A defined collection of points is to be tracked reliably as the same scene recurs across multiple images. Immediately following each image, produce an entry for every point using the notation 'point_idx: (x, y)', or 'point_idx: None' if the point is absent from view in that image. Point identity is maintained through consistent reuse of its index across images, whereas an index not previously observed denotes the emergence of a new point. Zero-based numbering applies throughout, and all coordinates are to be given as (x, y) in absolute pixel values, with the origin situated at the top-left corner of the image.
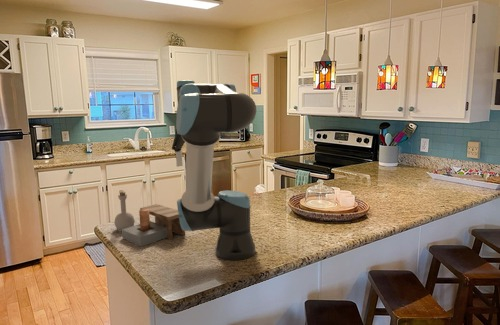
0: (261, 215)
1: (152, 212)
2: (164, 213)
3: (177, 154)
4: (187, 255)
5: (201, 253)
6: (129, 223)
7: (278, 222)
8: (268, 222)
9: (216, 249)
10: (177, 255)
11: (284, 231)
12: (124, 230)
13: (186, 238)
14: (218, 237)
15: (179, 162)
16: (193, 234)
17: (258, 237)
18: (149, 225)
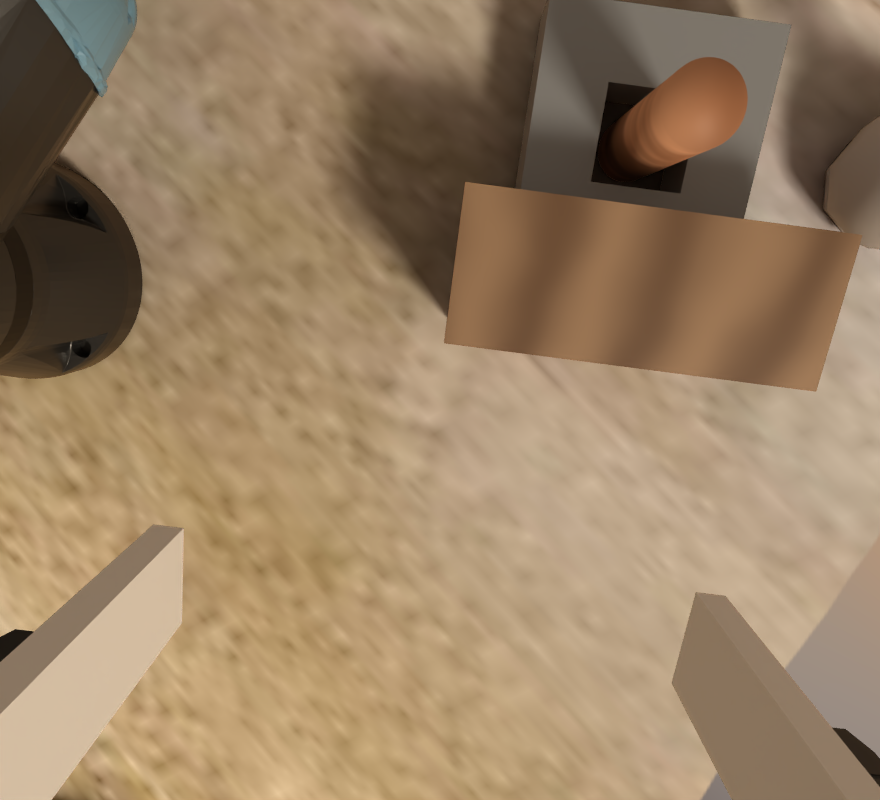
0: (293, 765)
1: (682, 211)
2: (565, 235)
3: (831, 795)
4: (208, 85)
5: (167, 152)
6: (847, 167)
7: (147, 717)
8: (190, 694)
9: (58, 171)
10: (254, 51)
11: (38, 625)
12: (756, 22)
13: (399, 278)
14: (52, 217)
15: (717, 679)
16: (410, 348)
17: (85, 494)
18: (623, 148)
